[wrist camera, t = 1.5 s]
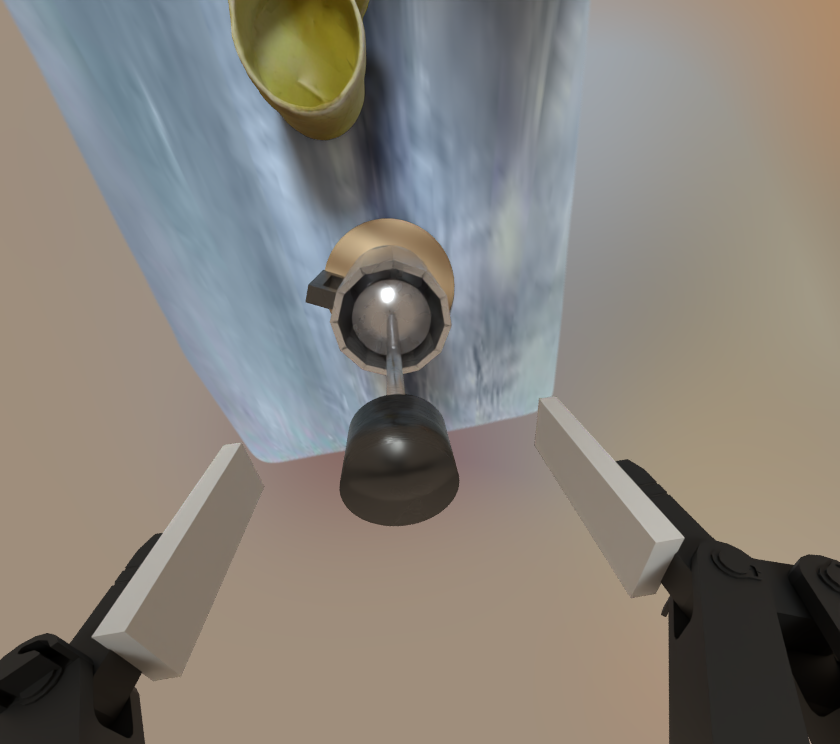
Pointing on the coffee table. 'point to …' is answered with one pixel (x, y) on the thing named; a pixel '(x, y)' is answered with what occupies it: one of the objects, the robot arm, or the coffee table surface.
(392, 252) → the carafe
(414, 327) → the plunger
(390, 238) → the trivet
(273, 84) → the mug
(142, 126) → the coffee table surface
